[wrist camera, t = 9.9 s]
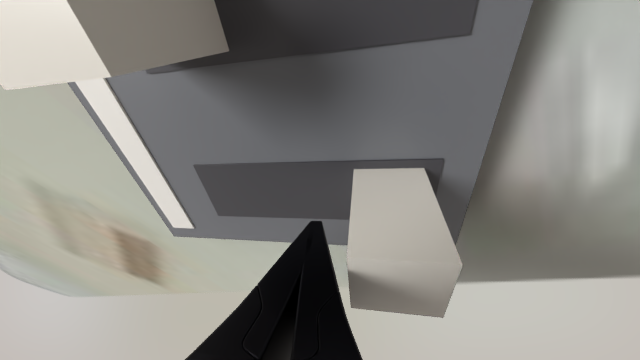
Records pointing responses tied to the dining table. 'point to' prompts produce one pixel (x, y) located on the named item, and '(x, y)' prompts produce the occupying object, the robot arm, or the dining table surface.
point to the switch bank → (312, 111)
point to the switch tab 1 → (101, 38)
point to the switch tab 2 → (399, 244)
